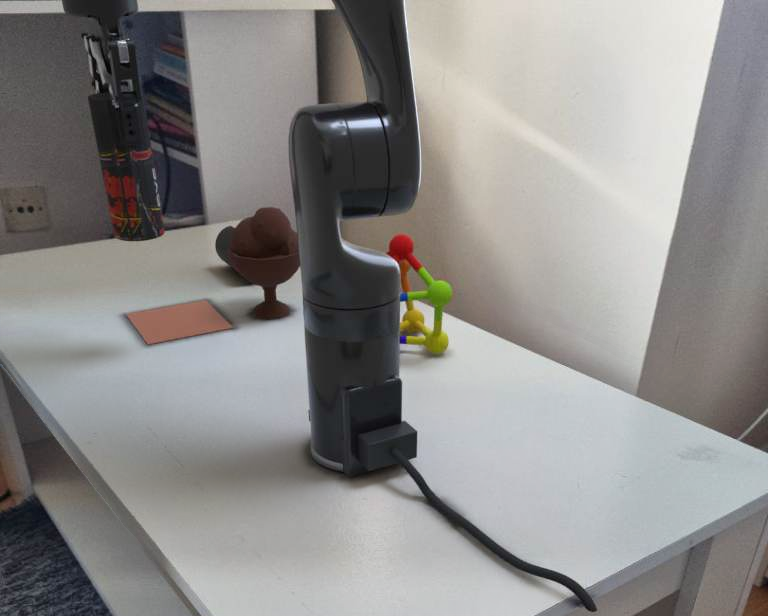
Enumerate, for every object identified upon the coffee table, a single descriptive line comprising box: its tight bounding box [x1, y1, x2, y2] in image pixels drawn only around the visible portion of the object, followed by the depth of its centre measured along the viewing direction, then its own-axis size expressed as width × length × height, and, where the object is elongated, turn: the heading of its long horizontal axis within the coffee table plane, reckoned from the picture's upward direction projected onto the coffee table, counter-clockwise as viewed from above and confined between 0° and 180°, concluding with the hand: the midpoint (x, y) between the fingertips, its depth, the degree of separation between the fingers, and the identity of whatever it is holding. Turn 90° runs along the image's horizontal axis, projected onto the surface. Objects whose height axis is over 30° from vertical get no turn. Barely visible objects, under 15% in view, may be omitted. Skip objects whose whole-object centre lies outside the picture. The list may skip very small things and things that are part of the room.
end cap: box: [214, 225, 235, 269], centre depth 129 cm, size 10×7×7 cm
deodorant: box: [87, 92, 166, 242], centre depth 93 cm, size 6×6×15 cm
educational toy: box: [384, 233, 453, 355], centre depth 103 cm, size 16×13×15 cm
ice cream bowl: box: [226, 206, 300, 320], centre depth 113 cm, size 11×11×15 cm
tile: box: [125, 299, 234, 346], centre depth 115 cm, size 12×12×1 cm
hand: (123, 139), depth 91 cm, fingers closed on deodorant, 6 cm apart
